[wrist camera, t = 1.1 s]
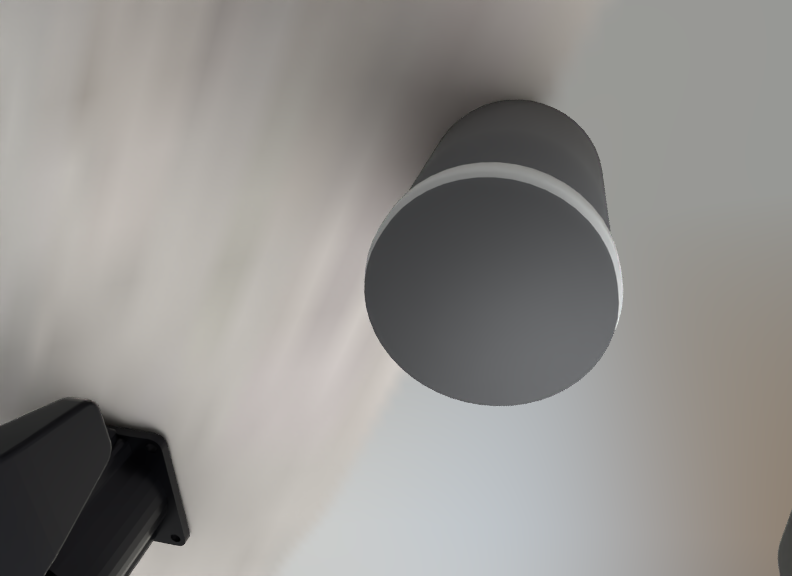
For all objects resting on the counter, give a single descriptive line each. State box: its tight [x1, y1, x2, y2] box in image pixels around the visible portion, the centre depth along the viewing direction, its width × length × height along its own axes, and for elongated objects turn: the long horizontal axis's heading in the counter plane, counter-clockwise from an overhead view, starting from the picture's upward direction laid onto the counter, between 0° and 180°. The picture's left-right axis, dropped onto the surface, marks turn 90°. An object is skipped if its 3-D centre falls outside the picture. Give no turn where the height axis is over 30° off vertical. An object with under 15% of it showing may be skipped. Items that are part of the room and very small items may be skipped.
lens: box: [364, 100, 623, 406], centre depth 16 cm, size 5×5×7 cm
